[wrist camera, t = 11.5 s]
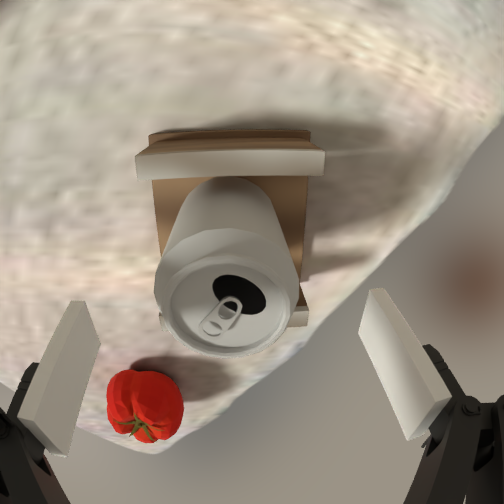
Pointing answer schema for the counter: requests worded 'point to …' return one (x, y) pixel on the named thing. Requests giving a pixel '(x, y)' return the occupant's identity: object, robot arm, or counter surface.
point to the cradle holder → (237, 165)
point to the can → (226, 271)
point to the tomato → (144, 405)
